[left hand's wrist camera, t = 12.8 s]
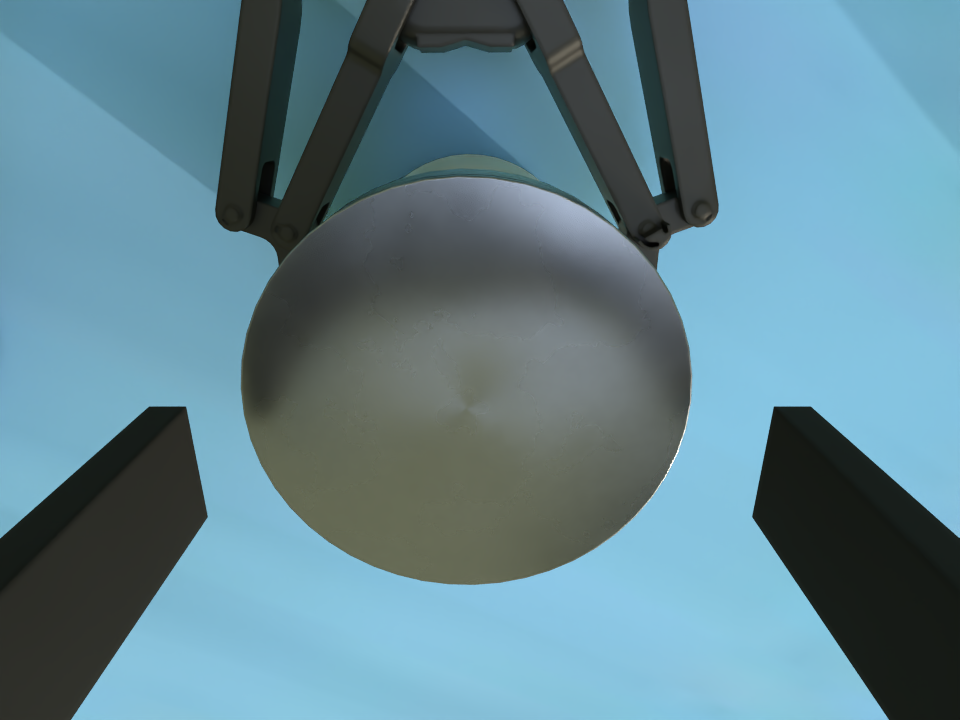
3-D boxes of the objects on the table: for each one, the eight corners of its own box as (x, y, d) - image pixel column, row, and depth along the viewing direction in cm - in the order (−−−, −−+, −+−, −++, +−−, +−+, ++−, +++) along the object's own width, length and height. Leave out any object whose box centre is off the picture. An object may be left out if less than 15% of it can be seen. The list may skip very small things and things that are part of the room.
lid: (290, 117, 14) (265, 118, 13) (732, 227, 15) (765, 242, 14) (245, 504, 18) (222, 545, 17) (598, 570, 20) (611, 615, 18)
